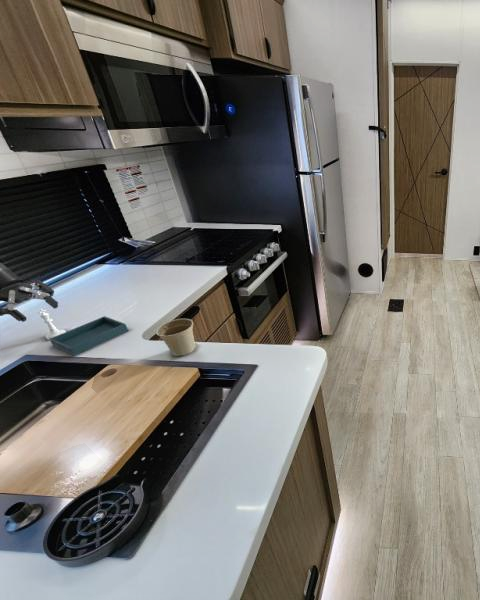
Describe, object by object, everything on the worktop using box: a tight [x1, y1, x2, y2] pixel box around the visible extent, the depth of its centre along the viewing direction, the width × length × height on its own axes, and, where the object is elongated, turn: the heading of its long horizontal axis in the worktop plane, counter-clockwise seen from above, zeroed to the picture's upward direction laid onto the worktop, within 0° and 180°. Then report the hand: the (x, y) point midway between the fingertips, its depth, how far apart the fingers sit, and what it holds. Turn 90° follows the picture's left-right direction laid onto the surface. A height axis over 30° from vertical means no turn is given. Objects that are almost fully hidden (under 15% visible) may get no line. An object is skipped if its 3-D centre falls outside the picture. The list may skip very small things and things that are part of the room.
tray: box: [48, 315, 129, 357], centre depth 107 cm, size 15×12×3 cm
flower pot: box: [155, 318, 196, 357], centre depth 99 cm, size 9×9×9 cm
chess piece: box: [38, 308, 67, 340], centre depth 107 cm, size 5×5×10 cm
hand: (41, 313), depth 106 cm, fingers open, 8 cm apart
